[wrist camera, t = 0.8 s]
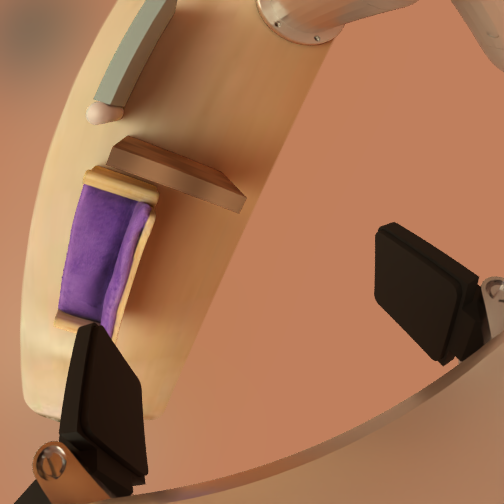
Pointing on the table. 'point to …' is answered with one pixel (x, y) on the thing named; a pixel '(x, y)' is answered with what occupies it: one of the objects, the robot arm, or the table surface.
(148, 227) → the toy sofa
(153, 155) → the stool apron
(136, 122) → the table surface
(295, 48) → the table surface
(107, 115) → the grey panel
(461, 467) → the robot arm
